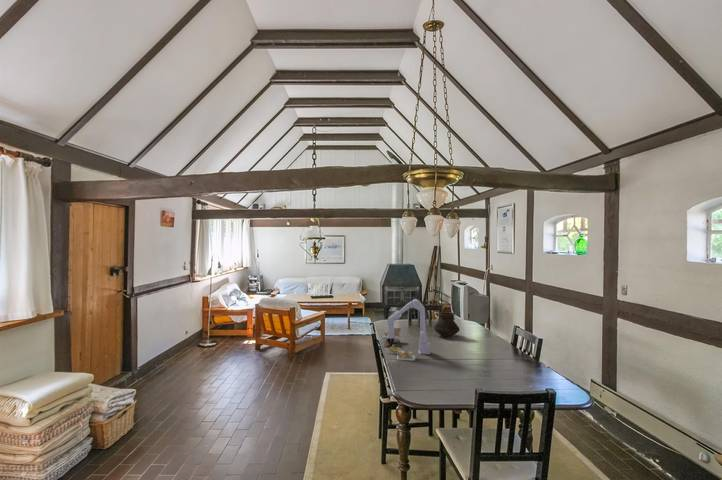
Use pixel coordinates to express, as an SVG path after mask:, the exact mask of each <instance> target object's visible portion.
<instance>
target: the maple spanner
mask: <svg viewBox="0 0 722 480" xmlns="http://www.w3.org/2000/svg"><path fill="white" fill-rule="evenodd" d="M397 355H398V358H401V357H403V358H404V355H406V358H410V355H411V358H412V356H413V352H412V351H408V350H407V351H405V350H402V351H398V354H397Z"/></svg>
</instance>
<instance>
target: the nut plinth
mask: <svg viewBox="0 0 722 480" xmlns="http://www.w3.org/2000/svg"><path fill="white" fill-rule="evenodd" d="M400 351H403V349H400ZM391 354H392V355H398V352H393V351H390V355H391Z"/></svg>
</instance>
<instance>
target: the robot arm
mask: <svg viewBox="0 0 722 480" xmlns="http://www.w3.org/2000/svg"><path fill="white" fill-rule="evenodd" d="M409 309H415V310H417V311H418V312H419V327H420V331H419V332H420V334H419V341H418V355H419V354H420V355H431V352H432V351H431V342H430V341H428V334H427V325H426V308H425V306H424V304H423V303H422V302H421V301H420V300H419V299H417V298H413V300H410V301H409V302H408V303H406V304H405V305H404V306H403V307H401V309H400V310H396V311H394V313H392V314H391V315H390V316H389V317H388V318H387V320H386V322H387V326H386V327H387V328H386V329H387V336H384V335H382V337H381V339H382V340H384V339H388V342H389V345H388V346H389V347H390V346H393V341H394V339H398V340H399V339H400V340H401V338H400V337H401V336H400V337H397V336H394V328H395V322H396V321H398V320H399V319H400V318H401V317H402V314H404V313H405V312H406V311H407V310H409Z"/></svg>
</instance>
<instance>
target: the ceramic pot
mask: <svg viewBox="0 0 722 480" xmlns="http://www.w3.org/2000/svg"><path fill="white" fill-rule="evenodd" d="M438 314H439V317H440V318H439V320H438V321H437V322H436V324H435V325H434V327H433V330H434V331H435V333H437V334H439V335H440V336H441V337H443V338H452V337H454V336H455V335H456V334H458V333H459V332H460V331H461V330H460V327H459V325H458V324H457V323H456V321H455V319H454V318H455V316H456V312H451V311H440V312H438Z"/></svg>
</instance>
